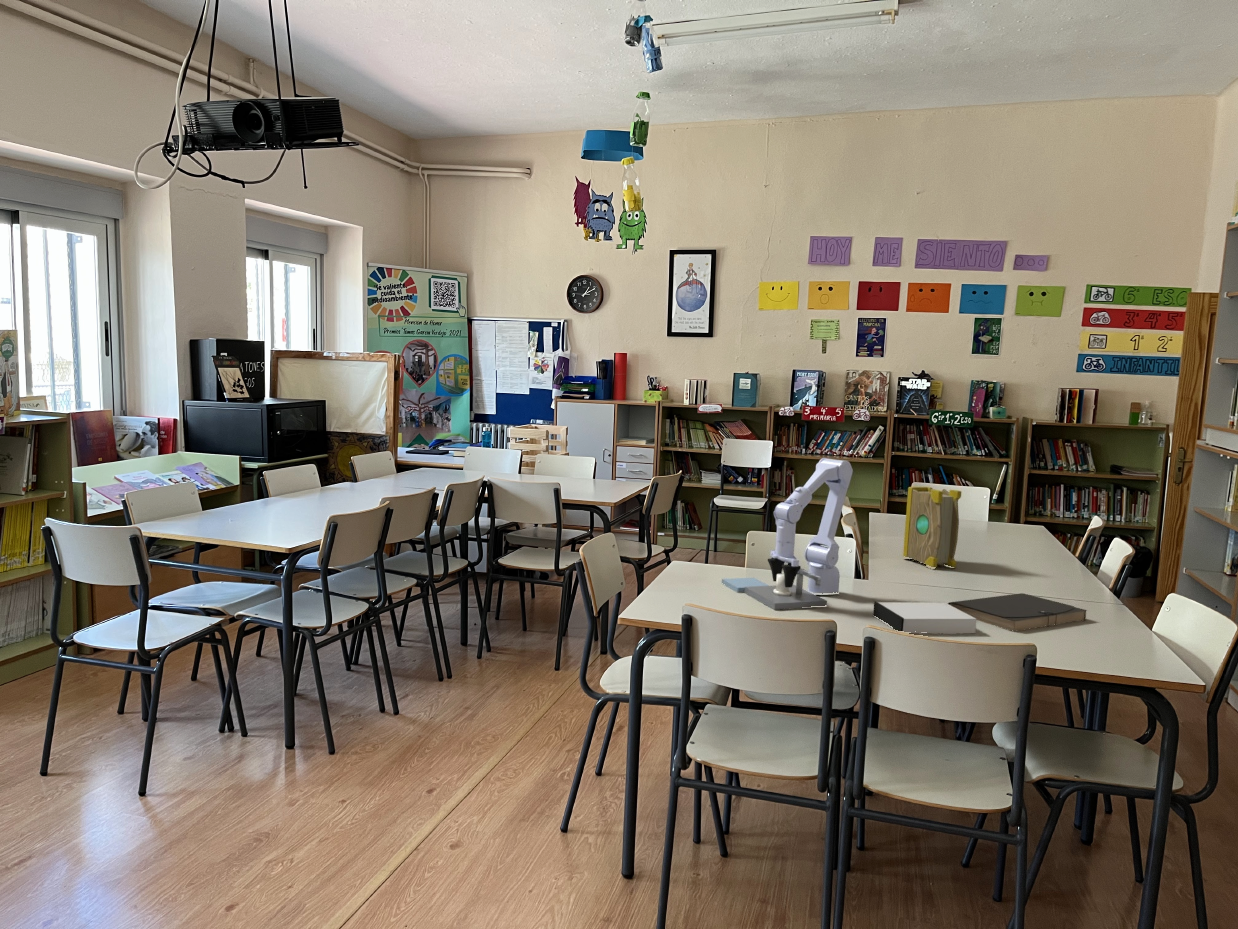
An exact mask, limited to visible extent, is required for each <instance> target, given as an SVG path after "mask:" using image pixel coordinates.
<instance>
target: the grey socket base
mask: <svg viewBox="0 0 1238 929" xmlns="http://www.w3.org/2000/svg"><path fill="white" fill-rule="evenodd" d="M803 586H804V575H802V574H799V573H797V575H796V584H793V586H792V587H789V590H790V591H791V595H790V596H778V595H775V594H774V593H773V591H774V589H776V585H769V586H753V587H745V591H744V592H743V593H744V594H746V595H748V596H749V597H751V598H752V599H754V600H756V601H758V603H759V602H760V603H761V604H763V605H765V606H767V608H770V609H772V610H774V611H781V610H780V609H783V610H790V609H789V608H802V607H811V606H825V605H827V606H828V600H826V599H824V598H822V597H821V596H816V595H814V594H812V593H810V592H808V591H806V590H804V587H803ZM802 609H803V608H802Z"/></svg>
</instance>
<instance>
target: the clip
mask: <svg viewBox="0 0 1238 929" xmlns="http://www.w3.org/2000/svg"><path fill="white" fill-rule="evenodd" d="M798 573H799V574H802V575H803V577H807V578H808V579H809V578H811V579H813V580H816V581H815V585H816V586H820V585H821V577H819V576H817V575H815V574H812V573H810V572H809V570H805V569H804V568H801V569H800V570H799V571H798Z"/></svg>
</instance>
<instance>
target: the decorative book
mask: <svg viewBox="0 0 1238 929" xmlns="http://www.w3.org/2000/svg"><path fill="white" fill-rule="evenodd" d="M906 498H907V500H906V513H905V522H904V523H905V525H904V526H905V528H904V537H903V538H904V540H903V549H902V550H903V552H902V557H903V556H905V557H909V558H912V559H914V560H917V561H919V562H922V563H925V564H926V565H929V566H931V567H937V568H938V564H942V563H943V565H944V564H945V565H948V566H951V567H955V568H957V561H956V558H955V555H956V549H957V547H958V546H957V545H958V540H959V525H960V518H959V500H960V499H961V498H962V491H961V490H955V489H949V491H948V490H947V489H945V488H944V489H942V490H938V489H934V488H933V487H930V486H909V487H908V488H907V497H906ZM914 560H913V561H914ZM917 561H916V562H917ZM919 562H918V563H919Z"/></svg>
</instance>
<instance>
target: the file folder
mask: <svg viewBox="0 0 1238 929" xmlns="http://www.w3.org/2000/svg"><path fill="white" fill-rule="evenodd" d="M947 604H949V605H951V606H953V607H954V608H956V609H958V610H960V611H962V612H964V613H966V614H968V615H970V616H972V617H974V618H976V621H979V622H982V623H986V624H988V625H991V626H994V625H995V627H997V626H998V628H1001V627H1002V628H1001V629H1004V628H1006V629H1005V630H1007V629H1008V630H1007V631H1010V630H1013V631H1014V632H1017V631H1016V630H1021V631H1025V630H1024V629H1027V630H1030V629H1029V628H1034V629H1036V628H1035V627H1040V628H1042V627H1041V626H1044V627H1046V626H1045V625H1050V626H1055V625H1056V624H1057V625H1060V624H1059V623H1062V624H1065V623H1064V622H1068V623H1073V622H1072V621H1076V622H1082V621H1081V620H1083V621H1084V620H1085V621H1086V620H1087V619H1086V618H1087V611H1088V610H1087V609H1084V608H1080V607H1077V606H1074V605H1070V604H1066V603H1063V602H1058V601H1055V600H1051V599H1047V598H1043V597H1040V596H1039V597H1038V596H1037V595H1036V596H1035V595H1031V594H1027V593H1023V592H1021V593H1014V594H1005V595H997V596H996V595H995V596H990V597H982V598H974V599H972V598H971V599H965V600H956V601H950V602H948V603H947ZM1054 624H1055V625H1054ZM1057 625H1056V626H1057ZM1013 631H1012V632H1013Z"/></svg>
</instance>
